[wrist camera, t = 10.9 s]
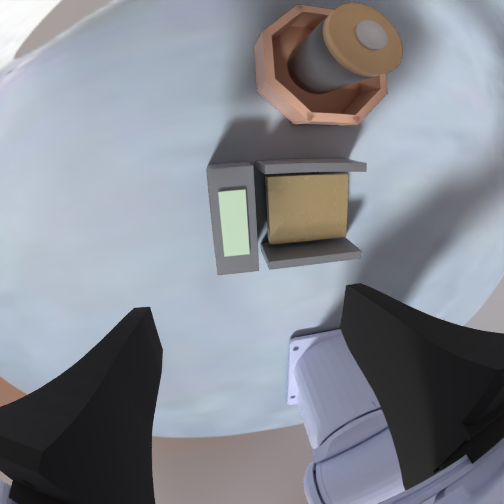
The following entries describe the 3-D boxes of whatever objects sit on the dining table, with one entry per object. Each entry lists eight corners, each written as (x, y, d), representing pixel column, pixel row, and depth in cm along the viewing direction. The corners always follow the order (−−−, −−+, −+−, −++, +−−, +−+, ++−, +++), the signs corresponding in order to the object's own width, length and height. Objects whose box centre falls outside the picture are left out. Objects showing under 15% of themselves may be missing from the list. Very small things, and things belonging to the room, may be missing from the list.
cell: (342, 96, 15) (412, 79, 8) (289, 92, 15) (338, 64, 8) (338, 48, 14) (400, 12, 7) (285, 42, 13) (328, -9, 7)
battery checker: (342, 241, 20) (362, 259, 17) (216, 254, 19) (217, 276, 16) (344, 158, 17) (368, 163, 14) (207, 165, 16) (206, 170, 13)
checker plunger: (341, 233, 19) (346, 236, 18) (267, 240, 18) (270, 244, 17) (342, 172, 17) (348, 174, 16) (265, 175, 16) (267, 177, 16)
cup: (365, 127, 17) (389, 128, 14) (258, 125, 16) (267, 122, 13) (357, 32, 14) (378, 19, 11) (251, 20, 13) (258, 1, 10)
